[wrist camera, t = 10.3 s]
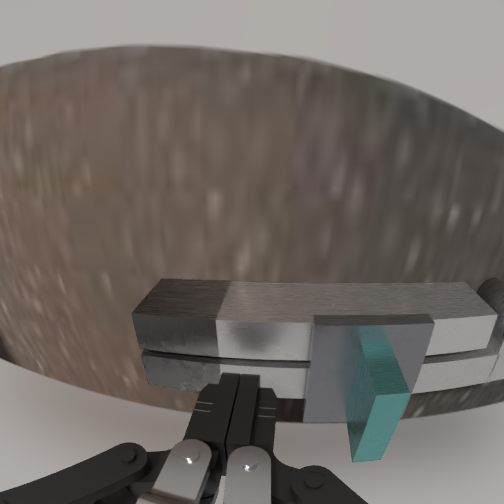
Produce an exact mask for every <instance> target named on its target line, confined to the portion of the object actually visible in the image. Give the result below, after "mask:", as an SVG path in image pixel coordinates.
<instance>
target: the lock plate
mask: <svg viewBox="0 0 504 504" xmlns="http://www.w3.org/2000/svg"><path fill="white" fill-rule="evenodd" d="M434 326H435V322H434V321H433V319H432V318H431V317H430V315H429V314H397V315H314V316H313V327H312V337H311V347H310V356H309V365H308V374H307V382H306V390H305V398H304V406H303V423H325V422H347V427H348V434H349V441H350V449H351V457H352V462H362V461H372V460H380V459H381V457H382V456H383V453H384V452H385V450H386V447H387V445H388V443H389V441H390V439H391V437H392V435H393V432H394V430H395V428H396V426H397V424H398V421H399V419H400V418H402V416H403V414H404V412H405V409H406V407H407V404H408V402H409V399H410V397H411V394H412V392H413V389H414V386H415V384H416V381H417V378H418V376H419V373H420V370H421V367H422V364H423V361H424V358H425V355H426V352H427V349H428V346H429V343H430V339H431V336H432V333H433V329H434Z"/></svg>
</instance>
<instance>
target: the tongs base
mask: <svg viewBox="0 0 504 504" xmlns="http://www.w3.org/2000/svg"><path fill="white" fill-rule="evenodd" d="M477 294H478V295H479V296H480V297H481V298H482V299H483V300H484V301H485V302H486V303H487V304H488V305H489V306H490V307H491V308H492V309H493V310H494V311H495V312H496V313H497V314H498V316H497V319H496V322H495V325H494V328H493V331H492V334H491V336H490V339H489V342H488V345H487V347H486V348H484V349H477V350H470V351H462V352H454V353H445V354H436V355H426V356H425V358H424V361H423V364H422V367H421V370H420V373H419V376H418V378H417V381H416V384H415V386H414V389H413V392H412V394H413V393H422V392H430V391H438V390H445V389H451V388H458V387H464V386H469V385H475V384H480V383H485V382H490V381H495V380H499V379H504V283H503V282H501V281H500V280H499V279H497V278H491V279H488V280H487V281H485V282H484V283H483V284H482V285H481V286H480V288H479V289H478V291H477ZM141 357H142V361H143V365H144V369H145V373H146V377H147V380H148V384H150V385H156V386H162V387H169V388H176V389H183V390H190V391H198V392H200V391H201V390H202V389H203V388H204V387H205V386H206V385H207V384H208V383H211V384H219V381H220V378H221V374H222V372H227V373H239V374H241V375H242V374H256V375H260V387H262V388H273V390H274V392H275V394H276V396H277V398H299V399H304V398H305V390H306V382H307V374H308V365H309V360H264V359H243V358H227V357H213V356H201V355H191V354H181V353H171V352H163V351H155V350H147V349H144V351H143V353H142V354H141Z"/></svg>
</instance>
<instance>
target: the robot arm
mask: <svg viewBox="0 0 504 504" xmlns="http://www.w3.org/2000/svg"><path fill="white" fill-rule="evenodd" d="M276 406H277V396H276V394H275V392H274V390H273V388H262V387H260V375H256V374H242V375H241V374H239V373H227V372H222V374H221V378H220V381H219V384H211V383H208V384H207V385H206V386H205V387H204V388H203V389H202V390H201V391H200V394H199V397H198V399H197V403H196V405H195V408H194V411H193V413H192V416H191V419H190V422H189V425H188V427H187V430H186V433H185V436H184V438H183V440H182V441H181V442H179V443H177V444H176V445H175V446H174V447H173V448H172V449H170V450H167V451H158V452H146V450H145V449H144V448H143V447H142V446H140V445H138V444H136V443H122V444H120V445H117V446H115V447H113V448H111V449H109V450H107V451H105V452H102V453H100V454H98V455H96V456H94V457H92V458H89V459H87V460H85V461H82V462H80V463H78V464H76V465H73V466H71V467H68V468H66V469H63V470H61V471H59V472H56V473H53V474H51V475H48V476H46V477H44V478H41V479H38V480H35V481H33V482H30V483H27V484H24V485H21V486H18V487H15V488H12V489H9V490H6V491H3V492H0V504H215V501H216V498H217V495H218V492H219V483H220V479H221V476H226V480H225V489H224V498H223V504H368V503H367V502H365V501H364V500H363V499H362V498H361V497H360V496H358V495H357V494H356V493H355V492H354V491H352V490H351V489H350V488H349V487H348V486H347V485H345V484H344V483H343V482H342V481H341V480H340V479H339V478H337V476H335V475H334V474H333V473H332V472H331V471H330V470H328V469H327V468H324V467H321V466H315V465H313V466H307V467H304V468H301V469H296V468H293V467H290V466H287V465H285V464H283V463H281V462H280V461H279V460H278V459H277V458H276V457H275V456H274V453H273V445H274V434H275V423H276Z"/></svg>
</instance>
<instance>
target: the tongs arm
mask: <svg viewBox="0 0 504 504" xmlns="http://www.w3.org/2000/svg"><path fill="white" fill-rule="evenodd" d="M397 314H429V315H430V317H431V318H432V319H433V321H434V322H435V326H434V329H433V333H432V336H431V339H430V343H429V346H428V349H427V352H426V355H436V354H445V353H454V352H462V351H470V350H477V349H484V348H486V347H487V345H488V342H489V339H490V336H491V334H492V331H493V328H494V325H495V322H496V319H497V316H498V314H497V313H496V312H495V311H494V310H493V309H492V308H491V307H490V306H489V305H488V304H487V303H486V302H485V301H484V300H483V299H482V298H481V297H480V296H479V295H478V294H477V293H476V292H475V291H474V290H473V289H471V288H470V287H469V286H468V285H467V284H466V283H465V282H435V283H289V282H243V281H210V280H182V279H161V280H160V281H159V282H158V283H157V285H156V286H155V287H154V288H153V289H152V290H151V291H150V292H149V294H148V295H147V296H146V297H145V298H144V299H143V300H142V302H141V303H140V304H139V305H138V306H137V307H136V309H135V310H134V311H133V312H132V318H133V323H134V327H135V331H136V336H137V340H138V344H139V348H140V349H147V350H155V351H163V352H171V353H181V354H191V355H201V356H213V357H227V358H243V359H264V360H309V356H310V347H311V337H312V327H313V316H314V315H397ZM426 355H425V356H426Z"/></svg>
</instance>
